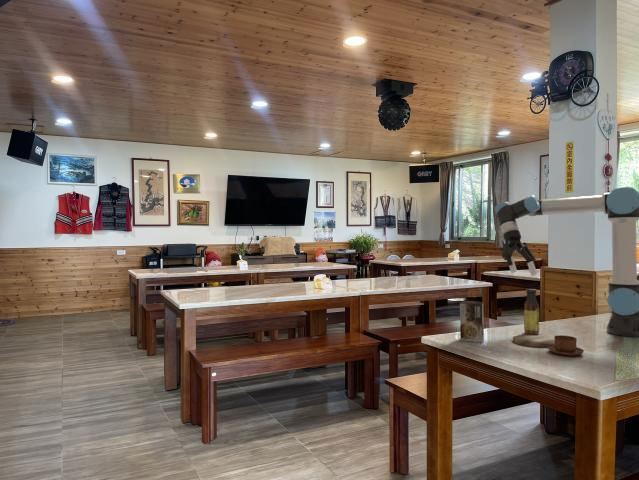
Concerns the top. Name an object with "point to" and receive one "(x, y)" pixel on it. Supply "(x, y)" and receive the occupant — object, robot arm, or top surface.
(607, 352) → the top surface
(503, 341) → the top surface
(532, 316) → the sauce bottle
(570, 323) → the top surface
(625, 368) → the top surface
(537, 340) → the coaster pad
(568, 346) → the cup and saucer
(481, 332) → the coffee box
